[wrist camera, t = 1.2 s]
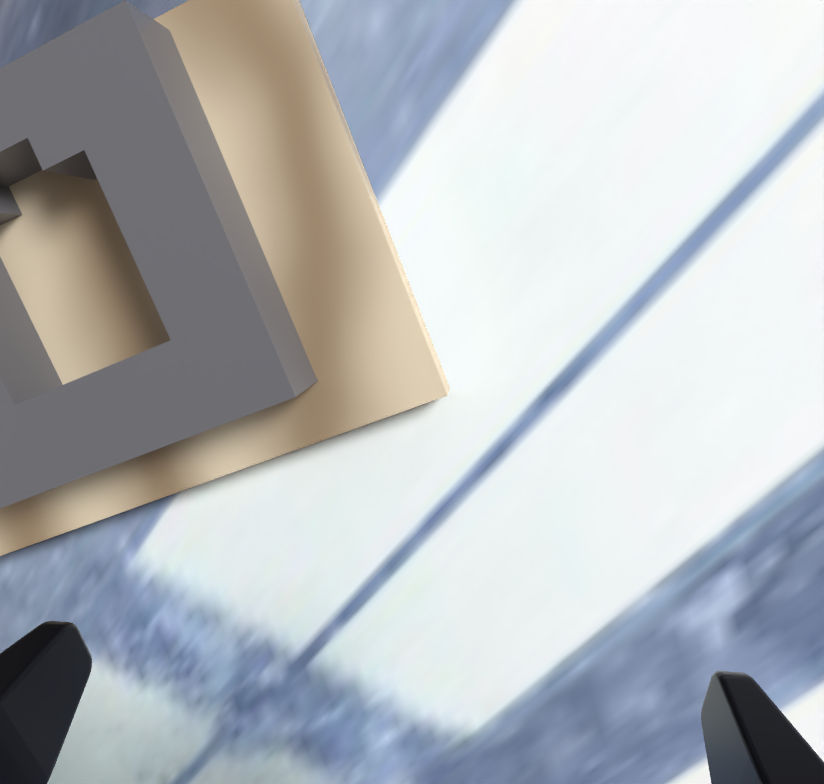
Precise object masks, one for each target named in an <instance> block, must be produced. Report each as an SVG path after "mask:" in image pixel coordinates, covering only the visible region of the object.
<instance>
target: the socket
mask: <svg viewBox="0 0 824 784" xmlns="http://www.w3.org/2000/svg"><path fill="white" fill-rule="evenodd" d="M41 170H43V171H48V172H54V173H59V174H65V175H70V176H76V177H82V178H87V179H93V180H94V179H98V181H99V184H100V186H101V188H102V190H103V192H104V195H105V197H106V199H107V201H108V203H109V206H110V208H111V210H112V212H113V214H114V217H115V219H116V221H117V223H118V225H119V227H120V230H121V232H122V234H123V236H124V238H125V241H126V243H127V245H128V247H129V249H130V252H131V254H132V256H133V258H134V260H135V263H136V265H137V267H138V269H139V271H140V274H141V276H142V278H143V280H144V282H145V285H146V287H147V289H148V291H149V293H150V296H151V298H152V300H153V302H154V304H155V307H156V309H157V311H158V313H159V315H160V318H161V320H162V322H163V324H164V326H165V329H166V331H167V333H168V335H169V337H170V341H168V342H165V343H163V344H160V345H158V346H156V347H153V348H151V349H148V350H146V351H144V352H141V353H139V354H136V355H134V356H132V357H129V358H127V359H124V360H122V361H119V362H117V363H115V364H112V365H110V366H107V367H105V368H103V369H100V370H98V371H95V372H93V373H91V374H88V375H86V376H83V377H81V378H78V379H76V380H74V381H71V382H69V383H66V384H64V385H63V384H62V382H61V380H60V378H59V376H58V374H57V372H56V370H55V368H54V366H53V364H52V362H51V360H50V358H49V355H48V353H47V351H46V349H45V347H44V345H43V343H42V341H41V339H40V337H39V335H38V333H37V331H36V329H35V327H34V325H33V323H32V321H31V319H30V317H29V314H28V312H27V310H26V308H25V306H24V304H23V302H22V300H21V298H20V296H19V294H18V292H17V290H16V288H15V286H14V284H13V282H12V280H11V278H10V276H9V274H8V271H7V269H6V267H5V265H4V263H3V261H2V259H1V257H0V508H3V507H5V506H8V505H11V504H13V503H16V502H19V501H21V500H24V499H27V498H29V497H32V496H35V495H37V494H40V493H43V492H45V491H48V490H50V489H53V488H56V487H58V486H61V485H64V484H66V483H69V482H72V481H74V480H77V479H80V478H82V477H85V476H88V475H90V474H93V473H96V472H98V471H101V470H104V469H106V468H109V467H111V466H114V465H117V464H119V463H122V462H125V461H127V460H130V459H133V458H135V457H138V456H141V455H143V454H146V453H149V452H151V451H154V450H157V449H159V448H162V447H165V446H167V445H170V444H173V443H175V442H178V441H180V440H183V439H186V438H188V437H191V436H194V435H196V434H199V433H202V432H204V431H207V430H210V429H212V428H215V427H218V426H220V425H223V424H226V423H228V422H231V421H234V420H236V419H239V418H241V417H244V416H247V415H249V414H252V413H255V412H257V411H260V410H263V409H265V408H268V407H271V406H273V405H276V404H279V403H281V402H284V401H287V400H289V399H292V398H295V397H296V396H298V395H299V394H301V393H302V392H303V391H305V390H306V389H308V388H309V387H310V386H312V385H313V384H315V383H316V382H317V381H318V380H317V378H316V375H315V373H314V371H313V368H312V366H311V364H310V361H309V359H308V357H307V354H306V352H305V349H304V347H303V345H302V342H301V340H300V338H299V335H298V333H297V331H296V328H295V326H294V323H293V321H292V319H291V316H290V314H289V312H288V309H287V307H286V304H285V302H284V300H283V297H282V295H281V293H280V290H279V288H278V286H277V283H276V281H275V278H274V276H273V274H272V271H271V269H270V267H269V264H268V262H267V259H266V257H265V255H264V252H263V250H262V248H261V245H260V243H259V241H258V238H257V236H256V233H255V231H254V229H253V226H252V224H251V222H250V219H249V217H248V214H247V212H246V210H245V207H244V205H243V203H242V200H241V198H240V196H239V193H238V191H237V188H236V186H235V184H234V181H233V179H232V177H231V174H230V172H229V169H228V167H227V165H226V162H225V160H224V158H223V155H222V153H221V151H220V148H219V146H218V143H217V141H216V139H215V136H214V134H213V132H212V129H211V127H210V124H209V122H208V120H207V117H206V115H205V113H204V110H203V108H202V106H201V103H200V101H199V98H198V96H197V94H196V91H195V89H194V87H193V84H192V82H191V79H190V77H189V75H188V72H187V70H186V68H185V65H184V63H183V61H182V58H181V56H180V53H179V51H178V49H177V46H176V44H175V42H174V39H173V37H172V34H171V32H170V30H169V29H167V28H166V27H164V26H163V25H161V24H160V23H158V22H157V21H155V20H154V19H152V18H151V17H149V16H148V15H146V14H145V13H143V12H142V11H140V10H139V9H138V8H136V7H135V6H133V5H132V4H130V3H129V2H127V1H126V0H124V1H122V2H121V3H119V4H117V5H115V6H113V7H111V8H110V9H108V10H106V11H104V12H102V13H100V14H99V15H97V16H95V17H93V18H91V19H89V20H88V21H86V22H84V23H82V24H80V25H79V26H77V27H75V28H73V29H71V30H69V31H68V32H66V33H64V34H62V35H60V36H58V37H57V38H55V39H53V40H51V41H49V42H47V43H46V44H44V45H42V46H40V47H38V48H36V49H35V50H33V51H31V52H29V53H27V54H25V55H24V56H22V57H20V58H18V59H16V60H14V61H13V62H11V63H9V64H7V65H5V66H3V67H2V68H0V225H2V224H4V223H6V222H8V221H10V220H12V219H14V218H16V217H18V216H20V215H22V213H21V211H20V209H19V207H18V204H17V202H16V200H15V198H14V196H13V194H12V192H11V190H10V188H9V186H11V185H13V184H15V183H17V182H19V181H21V180H23V179H25V178H27V177H29V176H31V175H33V174H35V173H37V172H39V171H41Z"/></svg>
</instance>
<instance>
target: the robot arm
mask: <svg viewBox="0 0 824 784" xmlns="http://www.w3.org/2000/svg"><path fill="white" fill-rule="evenodd" d="M91 668H92V658H91V654H90V652H89V650H88V648H87V646H86V644H85V642H84V640H83V638H82V636H81V634H80V632H79V630H78V628H77V626H76V625H75V624H73V623H70V622H57V621H49V622H45V623H43V624H41V625H39V626H38V627H36V628H35V629H33V630H32V631H31V632H29V633H28V634H27V635H25V636H24V637H22V638H21V639H20V640H18V641H17V642H16V643H14V644H13V645H11V646H10V647H9V648H7V649H6V650H4V651H3V652H2V653H0V784H47V782H48V780H49V778H50V775H51V773H52V771H53V768H54V766H55V764H56V761H57V758H58V756H59V753H60V751H61V748H62V746H63V743H64V740H65V738H66V735H67V733H68V730H69V727H70V725H71V722H72V720H73V717H74V714H75V712H76V709H77V707H78V704H79V701H80V699H81V696H82V694H83V691H84V688H85V686H86V683H87V681H88V678H89V675H90V672H91ZM701 720H702V729H703V735H704V741H705V747H706V753H707V759H708V765H709V771H710V777H711V783H712V784H824V762H823V761H822V759H821V758H820V757H819V756H818V755H817V754H816V752H815V751H814V750H813V749H812V748H811V746H810V745H809V744H808V743H807V742H806V741H805V739H804V738H803V737H802V736H801V735H800V733H799V732H798V731H797V730H796V729H795V728H794V726H793V725H792V724H791V723H790V722H789V720H788V719H787V718H786V717H785V716H784V715H783V713H782V712H781V711H780V710H779V709H778V707H777V706H776V705H775V704H774V703H773V702H772V700H771V699H770V698H769V697H768V696H767V694H766V693H765V692H764V691H763V690H762V689H761V687H760V686H759V685H758V684H757V683H756V681H755V680H754V679H753V678H752V677H750V676H749V675H747V674H745V673H740V672H727V671H717V672H715V673H714V674H713V675H712V677H711V680H710V684H709V687H708V690H707V693H706V696H705V699H704V702H703V706H702V712H701Z"/></svg>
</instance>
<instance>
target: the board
mask: <svg viewBox="0 0 824 784" xmlns="http://www.w3.org/2000/svg"><path fill="white" fill-rule="evenodd" d="M154 20H155V21H157V22H158V23H160V24H161V25H163V26H164V27H166V28H167V29H169V30H170V32H171V34H172V37H173V39H174V42H175V44H176V46H177V49H178V51H179V53H180V56H181V58H182V61H183V63H184V65H185V68H186V70H187V72H188V75H189V77H190V79H191V82H192V84H193V87H194V89H195V91H196V94H197V96H198V98H199V101H200V103H201V106H202V108H203V110H204V113H205V115H206V117H207V120H208V122H209V124H210V127H211V129H212V132H213V134H214V136H215V139H216V141H217V143H218V146H219V148H220V151H221V153H222V155H223V158H224V160H225V162H226V165H227V167H228V169H229V172H230V174H231V177H232V179H233V181H234V184H235V186H236V188H237V191H238V193H239V196H240V198H241V200H242V203H243V205H244V207H245V210H246V212H247V214H248V217H249V219H250V222H251V224H252V226H253V229H254V231H255V233H256V236H257V238H258V241H259V243H260V245H261V248H262V250H263V252H264V255H265V257H266V259H267V262H268V264H269V267H270V269H271V271H272V274H273V276H274V278H275V281H276V283H277V286H278V288H279V290H280V293H281V295H282V297H283V300H284V302H285V304H286V307H287V309H288V312H289V314H290V316H291V319H292V321H293V323H294V326H295V328H296V331H297V333H298V335H299V338H300V340H301V342H302V345H303V347H304V349H305V352H306V354H307V357H308V359H309V361H310V364H311V366H312V368H313V371H314V373H315V375H316V378H317V380H318V381H317V382H316V383H315V384H313V385H312V386H310V387H309V388H308V389H306V390H305V391H303V392H302V393H301V394H299V395H298V396H296V397H295V398H292V399H289V400H287V401H284V402H281V403H279V404H276V405H273V406H271V407H268V408H265V409H263V410H260V411H257V412H255V413H252V414H249V415H247V416H244V417H241V418H239V419H236V420H234V421H231V422H228V423H226V424H223V425H220V426H218V427H215V428H212V429H210V430H207V431H204V432H202V433H199V434H196V435H194V436H191V437H188V438H186V439H183V440H180V441H178V442H175V443H173V444H170V445H167V446H165V447H162V448H159V449H157V450H154V451H151V452H149V453H146V454H143V455H141V456H138V457H135V458H133V459H130V460H127V461H125V462H122V463H119V464H117V465H114V466H111V467H109V468H106V469H104V470H101V471H98V472H96V473H93V474H90V475H88V476H85V477H82V478H80V479H77V480H74V481H72V482H69V483H66V484H64V485H61V486H58V487H56V488H53V489H50V490H48V491H45V492H43V493H40V494H37V495H35V496H32V497H29V498H27V499H24V500H21V501H19V502H16V503H13V504H11V505H8V506H5V507H3V508H0V556H2V555H4V554H7V553H10V552H13V551H15V550H18V549H21V548H24V547H27V546H29V545H32V544H35V543H38V542H41V541H43V540H46V539H49V538H52V537H54V536H57V535H60V534H63V533H66V532H68V531H71V530H74V529H77V528H80V527H82V526H85V525H88V524H91V523H94V522H96V521H99V520H102V519H105V518H107V517H110V516H113V515H116V514H119V513H121V512H124V511H127V510H130V509H133V508H135V507H138V506H141V505H144V504H147V503H149V502H152V501H155V500H158V499H160V498H163V497H166V496H169V495H172V494H174V493H177V492H180V491H183V490H186V489H188V488H191V487H194V486H197V485H199V484H202V483H205V482H208V481H211V480H213V479H216V478H219V477H222V476H225V475H227V474H230V473H233V472H236V471H239V470H241V469H244V468H247V467H250V466H252V465H255V464H258V463H261V462H264V461H266V460H269V459H272V458H275V457H278V456H280V455H283V454H286V453H289V452H291V451H294V450H297V449H300V448H303V447H305V446H308V445H311V444H314V443H317V442H319V441H322V440H325V439H328V438H331V437H333V436H336V435H339V434H342V433H344V432H347V431H350V430H353V429H356V428H358V427H361V426H364V425H367V424H370V423H372V422H375V421H378V420H381V419H383V418H386V417H389V416H392V415H395V414H397V413H400V412H403V411H406V410H409V409H411V408H414V407H417V406H420V405H423V404H425V403H428V402H431V401H434V400H436V399H439V398H442V397H445V396H447V395H448V392H449V390H450V387H449V384H448V382H447V379H446V377H445V374H444V372H443V369H442V366H441V364H440V361H439V359H438V356H437V354H436V351H435V348H434V346H433V343H432V341H431V338H430V336H429V333H428V330H427V328H426V325H425V323H424V320H423V318H422V315H421V313H420V310H419V307H418V305H417V302H416V300H415V297H414V295H413V292H412V289H411V287H410V284H409V282H408V279H407V277H406V274H405V271H404V269H403V266H402V264H401V261H400V259H399V256H398V253H397V251H396V248H395V246H394V243H393V241H392V238H391V235H390V233H389V230H388V228H387V225H386V223H385V220H384V217H383V215H382V212H381V210H380V207H379V205H378V202H377V199H376V197H375V194H374V192H373V189H372V187H371V184H370V181H369V179H368V176H367V174H366V171H365V169H364V166H363V163H362V161H361V158H360V156H359V153H358V151H357V148H356V145H355V143H354V140H353V138H352V135H351V133H350V130H349V127H348V125H347V122H346V120H345V117H344V115H343V112H342V109H341V107H340V104H339V102H338V99H337V97H336V94H335V91H334V89H333V86H332V84H331V81H330V79H329V76H328V73H327V71H326V68H325V66H324V63H323V61H322V58H321V55H320V53H319V50H318V48H317V45H316V43H315V40H314V38H313V35H312V32H311V30H310V27H309V25H308V22H307V20H306V17H305V14H304V12H303V9H302V7H301V4H300V2H299V0H189V1H187V2H185V3H183V4H181V5H179V6H177V7H176V8H174V9H172V10H170V11H168V12H166V13H164V14H162V15H161V16H159V17H157V18H155V19H154ZM9 188H10V190H11V192H12V194H13V196H14V198H15V200H16V202H17V204H18V207H19V209H20V211H21V213H22V215H20V216H18V217H16V218H14V219H12V220H10V221H8V222H6V223H4V224H2V225H0V257H1V259H2V261H3V263H4V265H5V267H6V269H7V271H8V274H9V276H10V278H11V280H12V282H13V284H14V286H15V288H16V290H17V292H18V294H19V296H20V298H21V300H22V302H23V304H24V306H25V308H26V310H27V312H28V314H29V317H30V319H31V321H32V323H33V325H34V327H35V329H36V331H37V333H38V335H39V337H40V339H41V341H42V343H43V345H44V347H45V349H46V351H47V353H48V355H49V358H50V360H51V362H52V364H53V366H54V368H55V370H56V372H57V374H58V376H59V378H60V380H61V382H62V384H63V385H64V384H66V383H69V382H71V381H74V380H76V379H78V378H81V377H83V376H86V375H88V374H91V373H93V372H95V371H98V370H100V369H103V368H105V367H107V366H110V365H112V364H115V363H117V362H119V361H122V360H124V359H127V358H129V357H132V356H134V355H136V354H139V353H141V352H144V351H146V350H148V349H151V348H153V347H156V346H158V345H160V344H163V343H165V342H168V341H170V337H169V335H168V333H167V331H166V329H165V326H164V324H163V322H162V320H161V318H160V315H159V313H158V311H157V309H156V307H155V304H154V302H153V300H152V298H151V296H150V293H149V291H148V289H147V287H146V285H145V282H144V280H143V278H142V276H141V274H140V271H139V269H138V267H137V265H136V263H135V260H134V258H133V256H132V254H131V252H130V249H129V247H128V245H127V243H126V241H125V238H124V236H123V234H122V232H121V230H120V227H119V225H118V223H117V221H116V219H115V217H114V214H113V212H112V210H111V208H110V206H109V203H108V201H107V199H106V197H105V195H104V192H103V190H102V188H101V186H100V184H99V181H98V179H94V180H93V179H87V178H82V177H76V176H70V175H65V174H59V173H54V172H48V171H43V170H41V171H39V172H37V173H35V174H33V175H31V176H29V177H27V178H25V179H23V180H21V181H19V182H17V183H15V184H13V185H11V186H9Z"/></svg>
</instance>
